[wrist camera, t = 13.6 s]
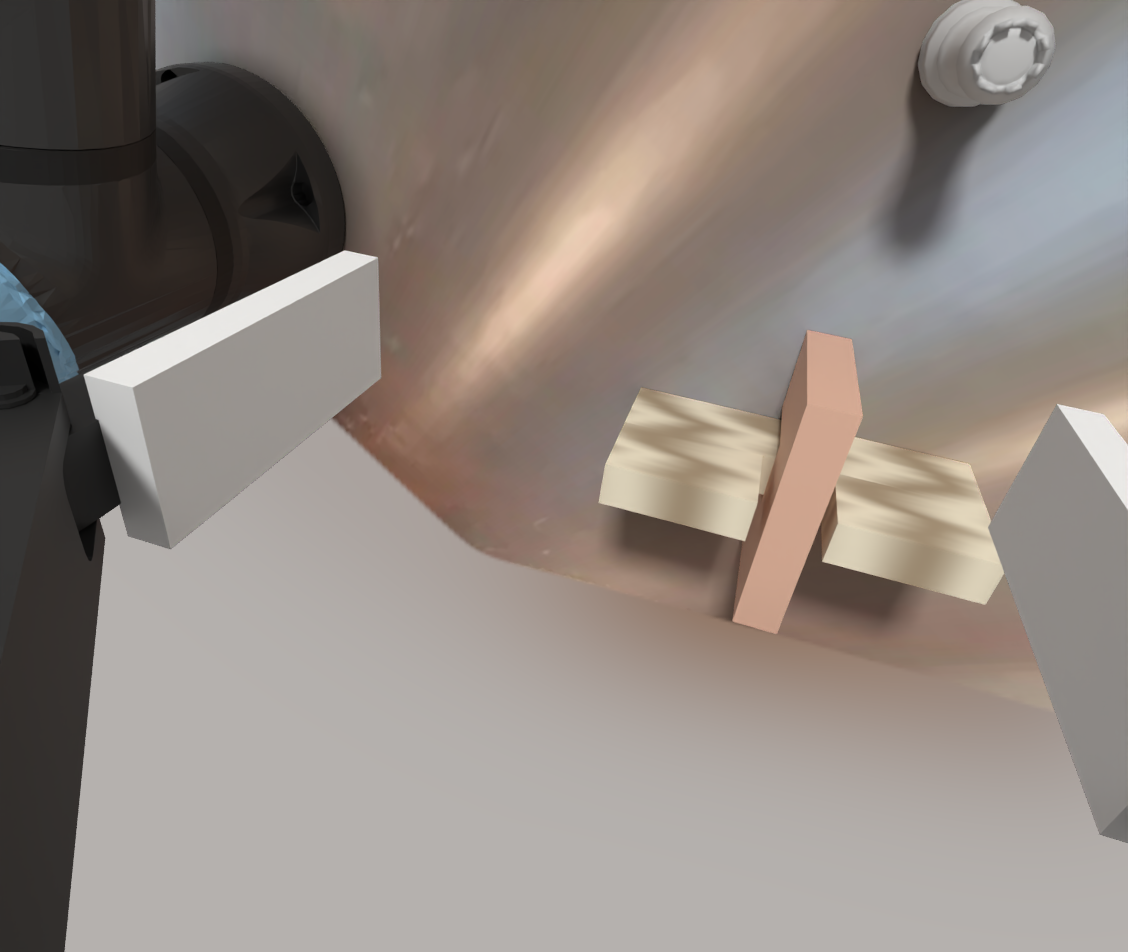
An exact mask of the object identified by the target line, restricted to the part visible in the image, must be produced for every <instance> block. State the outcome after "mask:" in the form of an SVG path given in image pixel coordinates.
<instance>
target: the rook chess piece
mask: <svg viewBox="0 0 1128 952" xmlns="http://www.w3.org/2000/svg"><path fill="white" fill-rule="evenodd" d="M1055 47H1056V45H1055V36H1054V28H1053V26H1052V25H1051V23H1050V22H1049V20H1048V19H1047V17H1046V16H1045V14H1044V13H1042V12H1040V11H1038V10H1036V9H1034V8H1031V7H1029V6H1021V5H1020V4H1019V3H1017V2H1015V1H1013V0H962V1H960V2H957V3H955V4H953V5H952V6H951V7H950V8H949V9H947V10H946V11H945V12H944V13H943V14H942V15H941V16H940V17H939V18H937V19H936V20H935V21H934V23H933V25H932V26H931V28H930V30H929V32H928V33H927V35H926V37H925V38H924V40H923V42H922V46H921V51H920V56H919V61H918V68H919V73H920V79H921V84H922V85H923V87H924V88H925V89H926V91H927V92H928V93H929V95H930V96H931V97H932V99H934V100H936V101H938V102H941V103H943V104H945V105H947V106H949V107H974V106H977V105H979V104H983V105H1002V104H1005V103H1007V102H1010V101H1013V100H1015V99H1018V98H1021V97H1022V96H1023V95H1024V94H1026V93H1027V92H1028V91H1029V90H1031V89H1032V88H1033V87H1034V86H1036V85H1037V84H1038V83H1039V81H1040V80H1041V78H1042V77H1043V75H1044V74H1045V72H1046V71H1047V70H1048V68H1049V67H1050V64H1051V61H1052V57H1053V54H1054V50H1055Z"/></svg>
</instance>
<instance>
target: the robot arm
mask: <svg viewBox="0 0 1128 952" xmlns="http://www.w3.org/2000/svg"><path fill="white" fill-rule="evenodd" d="M344 230H345V217H344V207H343V200H342V195H341V190H340V186H339V182H338V179H337V176H336V173H335V170H334V167H333V165H332V162H331V160H330V158H329V156H328V154H327V151H326V149H325V148H324V146H323V144H322V142H321V140H320V139H319V137H318V135H317V134H316V132H315V131H314V129H313V128H312V126H311V125H310V123H309V122H308V121H307V119H306V118H305V117H304V115H303V114H302V113H301V112H300V111H299V110H298V109H297V107H296V106H295V105H294V104H293V103H292V102H291V101H290V100H289V99H288V98H287V97H286V96H284V95H283V94H282V93H281V92H280V91H279V90H277V89H276V88H275V87H274V86H272V85H271V84H269V83H268V82H266V81H265V80H263V79H262V78H260V77H258V76H256V75H254V74H252V73H250V72H248V71H246V70H244V69H241V68H238V67H235V66H232V65H228V64H223V63H215V62H202V63H185V64H175V65H170V66H167V67H164V68H160V69H158V70H155V0H0V952H64V950H65V940H66V929H67V920H68V910H69V900H70V899H69V898H70V889H71V879H72V869H73V858H74V848H75V839H76V828H77V818H78V807H79V798H80V788H81V778H82V768H83V757H84V746H85V737H86V727H87V717H88V706H89V696H90V686H91V676H92V666H93V656H94V646H95V635H96V625H97V616H98V605H99V595H100V585H101V575H102V565H103V554H104V545H105V536H104V532H103V529H102V526H101V522H100V519H99V518H101V517H102V516H103V515H105V514H106V513H108V512H109V511H111V510H112V509H114V508H115V507H116V506H118V505H120V509H121V512H122V516H123V520H124V523H125V527H126V530H127V534H128V536H129V537H133V538H136V539H139V540H143V541H146V542H149V543H152V544H155V545H159V546H162V547H165V548H169V549H172V548H173V547H174V546H175V545H177V544H178V543H179V542H180V541H181V540H183V539H184V538H185V537H186V536H188V535H189V534H190V533H191V532H193V531H194V530H195V529H196V528H197V527H198V526H200V525H201V524H202V523H203V522H205V521H206V520H207V519H209V518H210V517H211V516H212V515H213V514H215V513H216V512H217V511H218V510H220V509H221V508H222V507H223V506H225V505H226V504H227V503H228V502H229V501H230V500H232V499H233V498H234V497H235V496H237V495H238V494H239V493H240V492H242V491H243V490H244V489H245V488H246V487H248V486H249V485H250V484H251V483H253V482H254V481H255V480H256V479H258V478H259V477H260V476H261V475H263V474H264V473H265V472H266V471H267V470H269V469H270V468H271V467H272V466H274V465H275V464H276V463H277V462H278V461H280V460H281V459H282V458H283V457H285V456H286V455H287V454H288V453H289V452H291V451H292V450H293V449H294V448H296V447H297V446H298V445H299V444H301V443H302V442H303V441H304V440H305V439H307V438H308V437H309V436H310V435H311V434H313V433H314V432H315V431H316V430H318V429H319V428H320V427H321V426H323V425H324V424H325V423H326V422H328V421H329V420H330V419H331V418H332V417H334V416H335V415H336V414H337V413H339V412H340V411H341V410H342V409H343V408H345V407H346V406H347V405H348V404H350V403H351V402H352V401H353V400H355V399H356V398H357V397H358V396H359V395H361V394H362V393H363V392H364V391H366V390H367V389H368V388H369V387H370V386H372V385H373V384H374V383H375V382H377V381H378V380H379V379H380V378H381V355H380V314H379V274H378V257H373V256H368V255H364V254H359V253H354V252H350V251H345V250H344V251H342V247H343V242H344ZM988 529H989V532H990V535H991V537H992V540H993V543H994V546H995V548H996V551H997V554H998V557H999V559H1000V562H1001V565H1002V568H1003V570H1004V573H1005V576H1006V579H1007V581H1008V584H1009V587H1010V590H1011V592H1012V595H1013V598H1014V600H1015V603H1016V606H1017V609H1018V611H1019V614H1020V617H1021V620H1022V622H1023V625H1024V628H1025V631H1026V633H1027V636H1028V639H1029V642H1030V644H1031V647H1032V650H1033V653H1034V655H1035V658H1036V661H1037V664H1038V666H1039V669H1040V672H1041V675H1042V677H1043V680H1044V683H1045V686H1046V688H1047V691H1048V694H1049V697H1050V699H1051V702H1052V705H1053V708H1054V710H1055V713H1056V716H1057V719H1058V721H1059V724H1060V726H1061V729H1062V732H1063V735H1064V738H1065V741H1066V743H1067V746H1068V749H1069V752H1070V754H1071V757H1072V760H1073V763H1074V765H1075V768H1076V771H1077V773H1078V776H1079V779H1080V782H1081V785H1082V787H1083V790H1084V793H1085V795H1086V798H1087V801H1088V804H1089V807H1090V809H1091V812H1092V815H1093V817H1094V820H1095V823H1096V826H1097V828H1098V831H1099V834H1100V835H1103V836H1106V837H1109V838H1113V839H1116V840H1119V841H1122V842H1126V843H1128V445H1127V443H1126V442H1125V441H1124V440H1123V438H1122V437H1121V436H1120V434H1119V433H1118V432H1117V431H1116V429H1115V428H1114V427H1113V425H1112V424H1111V423H1110V421H1109V420H1108V419H1107V418H1106V416H1105V415H1104V414H1100V413H1096V412H1091V411H1086V410H1082V409H1077V408H1072V407H1068V406H1063V405H1059V404H1057V405H1056V407H1055V409H1054V410H1053V412H1052V414H1051V416H1050V417H1049V419H1048V421H1047V423H1046V425H1045V426H1044V428H1043V430H1042V432H1041V434H1040V435H1039V437H1038V439H1037V441H1036V442H1035V444H1034V446H1033V448H1032V450H1031V451H1030V453H1029V455H1028V457H1027V459H1026V460H1025V462H1024V464H1023V466H1022V467H1021V469H1020V471H1019V473H1018V475H1017V476H1016V478H1015V480H1014V482H1013V484H1012V485H1011V487H1010V489H1009V491H1008V492H1007V494H1006V496H1005V498H1004V500H1003V501H1002V503H1001V505H1000V507H999V509H998V510H997V512H996V514H995V516H994V518H993V519H992V521H991V523H990V525H989V526H988Z"/></svg>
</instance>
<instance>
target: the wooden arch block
mask: <svg viewBox="0 0 1128 952" xmlns="http://www.w3.org/2000/svg"><path fill="white" fill-rule="evenodd" d="M862 418H863V413H862V407H861V400H860V393H859V386H858V379H857V372H856V365H855V358H854V351H853V344H852V339H848V338H843V337H838V336H834V335H829V334H824V333H820V332H815V331H810V330H807V332H806V335H805V338H804V341H803V345H802V348H801V351H800V354H799V357H798V360H797V363H796V366H795V369H794V372H793V375H792V379H791V382H790V385H789V388H788V391H787V394H786V397H785V400H784V403H783V406H782V421H781V436H780V446H779V449H778V452H777V455H776V458H775V461H774V464H773V467H772V470H771V473H770V476H769V479H768V482H767V485H766V488H765V491H764V494H758V503H757V506H756V509H755V512H754V515H753V518H752V522H751V525H750V528H749V531H748V534H747V537H746V540H745V541H742V549H741V557H740V565H739V573H738V581H737V589H736V597H735V605H734V613H733V620H732V622H736V623H739V624H743V625H746V626H750V627H754V628H757V629H761V630H764V631H768V632H771V633H775V634H777V632H778V629H779V627H780V624H781V622H782V619H783V617H784V614H785V612H786V609H787V607H788V604H789V602H790V599H791V597H792V594H793V592H794V589H795V586H796V584H797V581H798V579H799V576H800V574H801V571H802V569H803V566H804V564H805V561H806V559H807V556H808V554H809V551H810V549H811V546H812V544H813V541H814V539H815V536H816V534H817V531H818V528H819V526H820V523H821V521H822V518H823V516H824V513H825V511H826V508H827V506H828V503H829V501H830V498H831V496H832V493H833V491H834V488H835V486H836V483H837V481H838V478H839V476H840V473H841V470H842V468H843V465H844V463H845V460H846V458H847V455H848V453H849V450H850V448H851V445H852V443H853V440H854V438H855V435H856V433H857V430H858V428H859V425H860V423H861V420H862Z"/></svg>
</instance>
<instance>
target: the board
mask: <svg viewBox="0 0 1128 952" xmlns="http://www.w3.org/2000/svg"><path fill="white" fill-rule="evenodd" d="M781 421H782V420H779V419H775V418H771V417H766V416H762V415H758V414H754V413H749V412H745V411H741V410H737V409H732V408H728V407H724V406H719V405H715V404H711V403H707V402H702V401H698V400H694V399H689V398H685V397H681V396H677V395H672V394H668V393H664V392H659V391H655V390H651V389H647V388H642V387H641V389H640V391H639V393H638V395H637V397H636V400H635V402H634V404H633V406H632V408H631V410H630V412H629V415H628V417H627V419H626V421H625V423H624V425H623V428H622V430H621V432H620V434H619V436H618V438H617V440H616V443H615V445H614V447H613V449H612V451H611V453H610V455H609V458H608V460H607V462H606V464H605V469H604V475H603V481H602V486H601V492H600V497H599V503H602V504H606V505H609V506H613V507H617V508H621V509H625V510H628V511H632V512H636V513H640V514H643V515H647V516H651V517H655V518H659V519H662V520H666V521H670V522H674V523H678V524H681V525H685V526H689V527H693V528H697V529H700V530H704V531H708V532H712V533H715V534H719V535H723V536H727V537H731V538H734V539H738V540H742V541H745V540H746V537H747V534H748V531H749V528H750V525H751V522H752V518H753V515H754V512H755V509H756V506H757V503H758V494H764V491H765V488H766V485H767V482H768V479H769V476H770V473H771V470H772V467H773V464H774V461H775V458H776V455H777V452H778V449H779V446H780V436H781ZM990 523H991V519H990V517H989V514H988V511H987V509H986V506H985V503H984V501H983V498H982V495H981V493H980V490H979V487H978V485H977V482H976V480H975V477H974V474H973V472H972V469H971V466H970V464H968V463H964V462H959V461H955V460H951V459H946V458H942V457H938V456H934V455H929V454H925V453H921V452H916V451H912V450H908V449H904V448H899V447H895V446H891V445H886V444H882V443H878V442H874V441H869V440H865V439H861V438H856V437H855V438H854V440H853V443H852V445H851V448H850V450H849V453H848V455H847V458H846V460H845V463H844V465H843V468H842V470H841V473H840V476H839V478H838V481H837V483H836V486H835V488H834V491H833V493H832V496H831V498H830V501H829V503H828V506H827V508H826V511H825V513H824V516H823V518H822V521H821V538H822V562H825V563H829V564H833V565H837V566H841V567H844V568H848V569H852V570H856V571H860V572H863V573H867V574H871V575H875V576H878V577H882V578H886V579H890V580H894V581H897V582H901V583H905V584H909V585H913V586H916V587H920V588H924V589H928V590H932V591H935V592H939V593H943V594H947V595H950V596H954V597H958V598H962V599H966V600H969V601H973V602H977V603H981V604H986V603H987V601H988V599H989V598H990V596H991V594H992V593H993V591H994V589H995V588H996V586H997V584H998V583H999V581H1000V579H1001V578H1002V576H1003V574H1004V570H1003V568H1002V565H1001V562H1000V559H999V557H998V554H997V551H996V548H995V546H994V543H993V540H992V537H991V535H990V532H989V529H988V526H989V525H990Z"/></svg>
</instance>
